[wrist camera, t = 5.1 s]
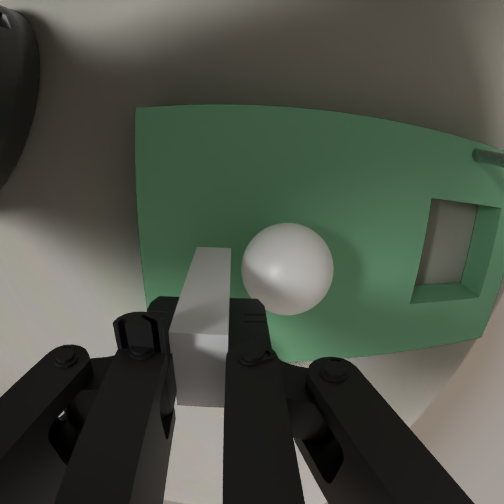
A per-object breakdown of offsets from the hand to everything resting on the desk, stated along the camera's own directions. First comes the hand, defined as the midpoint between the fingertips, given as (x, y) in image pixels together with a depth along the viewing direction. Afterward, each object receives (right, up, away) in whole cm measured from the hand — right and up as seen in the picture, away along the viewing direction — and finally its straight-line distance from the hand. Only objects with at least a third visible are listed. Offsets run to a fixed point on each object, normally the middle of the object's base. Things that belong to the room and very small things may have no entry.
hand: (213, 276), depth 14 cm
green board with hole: (+8, +2, +4) cm, 9 cm away
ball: (+3, 0, 0) cm, 3 cm away
